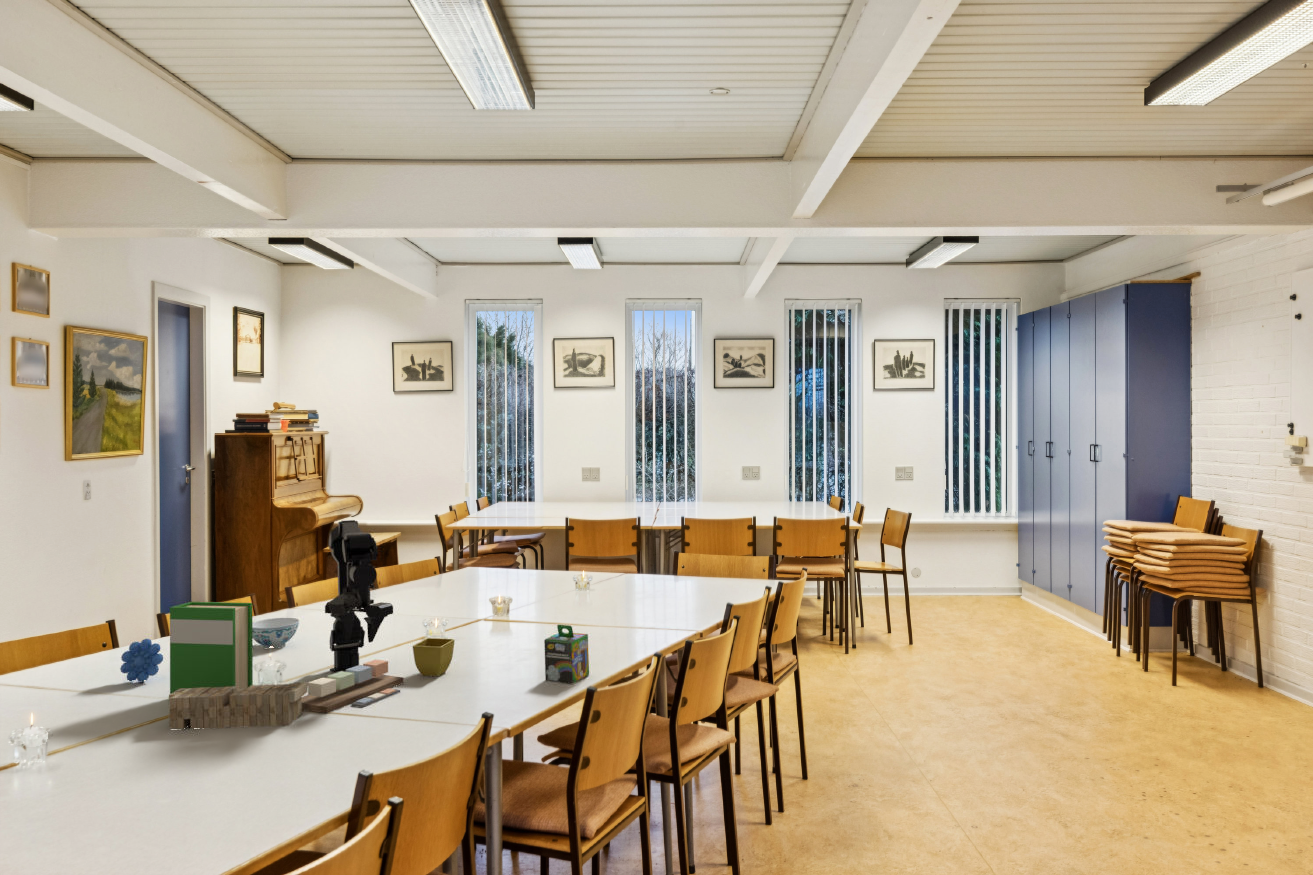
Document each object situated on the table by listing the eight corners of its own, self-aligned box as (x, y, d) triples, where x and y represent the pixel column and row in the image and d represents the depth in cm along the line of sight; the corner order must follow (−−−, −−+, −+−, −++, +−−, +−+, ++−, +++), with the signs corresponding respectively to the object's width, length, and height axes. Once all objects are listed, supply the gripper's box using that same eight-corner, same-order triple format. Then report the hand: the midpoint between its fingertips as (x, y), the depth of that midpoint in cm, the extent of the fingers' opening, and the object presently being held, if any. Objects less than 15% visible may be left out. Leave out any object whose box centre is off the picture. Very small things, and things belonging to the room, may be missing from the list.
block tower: (163, 735, 175) (296, 725, 178) (161, 698, 175) (294, 689, 178) (181, 723, 183) (308, 714, 186) (180, 687, 183) (306, 678, 186)
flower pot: (440, 679, 212) (440, 646, 212) (411, 677, 214) (411, 645, 214) (455, 670, 221) (455, 638, 221) (427, 668, 223) (427, 637, 223)
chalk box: (589, 675, 215) (589, 622, 215) (572, 684, 206) (572, 629, 207) (561, 671, 218) (561, 619, 219) (543, 680, 210) (543, 626, 210)
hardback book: (252, 695, 200) (252, 602, 201) (232, 704, 193) (232, 608, 193) (191, 692, 203) (191, 601, 203) (170, 701, 195) (169, 607, 196)
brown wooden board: (291, 707, 190) (291, 700, 190) (370, 678, 214) (370, 672, 214) (327, 713, 185) (327, 707, 185) (403, 682, 209) (403, 677, 209)
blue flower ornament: (172, 677, 217) (172, 634, 217) (156, 684, 210) (156, 640, 210) (131, 677, 217) (131, 635, 217) (114, 684, 210) (114, 641, 211)
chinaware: (308, 644, 253) (308, 620, 253) (264, 654, 240) (264, 629, 240) (282, 638, 261) (282, 615, 261) (238, 648, 248) (238, 624, 248)
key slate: (345, 681, 201) (345, 669, 201) (358, 676, 206) (358, 665, 206) (358, 682, 200) (358, 671, 200) (371, 678, 204) (371, 666, 204)
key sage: (327, 687, 196) (327, 675, 196) (341, 682, 200) (341, 671, 200) (340, 689, 194) (340, 677, 194) (354, 684, 198) (354, 672, 198)
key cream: (308, 694, 190) (308, 682, 191) (322, 689, 195) (322, 677, 195) (321, 696, 189) (321, 684, 189) (335, 691, 193) (335, 679, 193)
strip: (351, 705, 191) (351, 702, 191) (389, 690, 203) (389, 687, 203) (362, 707, 189) (362, 703, 189) (400, 692, 201) (400, 688, 201)
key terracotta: (363, 674, 207) (363, 663, 207) (375, 670, 211) (375, 659, 211) (375, 676, 205) (375, 665, 205) (388, 672, 209) (388, 661, 209)
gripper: (307, 584, 200) (308, 645, 199) (362, 588, 192) (363, 651, 192) (341, 578, 210) (341, 635, 209) (394, 581, 202) (394, 641, 202)
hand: (359, 640), depth 203 cm, fingers open, 8 cm apart
